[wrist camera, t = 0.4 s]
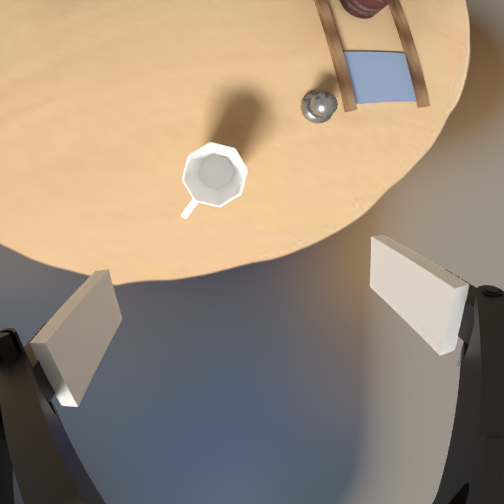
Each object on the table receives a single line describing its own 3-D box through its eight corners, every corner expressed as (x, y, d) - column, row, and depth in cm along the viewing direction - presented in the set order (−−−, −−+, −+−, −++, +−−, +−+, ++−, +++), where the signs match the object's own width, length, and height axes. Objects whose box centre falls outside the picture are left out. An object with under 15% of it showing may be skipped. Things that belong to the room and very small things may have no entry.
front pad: (339, 52, 35) (340, 51, 35) (402, 53, 35) (404, 53, 35) (352, 104, 38) (353, 103, 37) (414, 101, 38) (416, 100, 38)
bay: (304, -27, 31) (307, -33, 29) (382, -21, 31) (388, -26, 29) (344, 111, 38) (350, 109, 36) (422, 107, 38) (429, 106, 36)
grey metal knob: (297, 94, 37) (305, 88, 33) (328, 91, 37) (338, 85, 33) (304, 125, 38) (313, 122, 34) (334, 121, 38) (345, 118, 34)
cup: (254, 166, 39) (262, 168, 32) (208, 226, 41) (205, 242, 33) (211, 134, 37) (208, 128, 30) (165, 196, 39) (152, 205, 32)
